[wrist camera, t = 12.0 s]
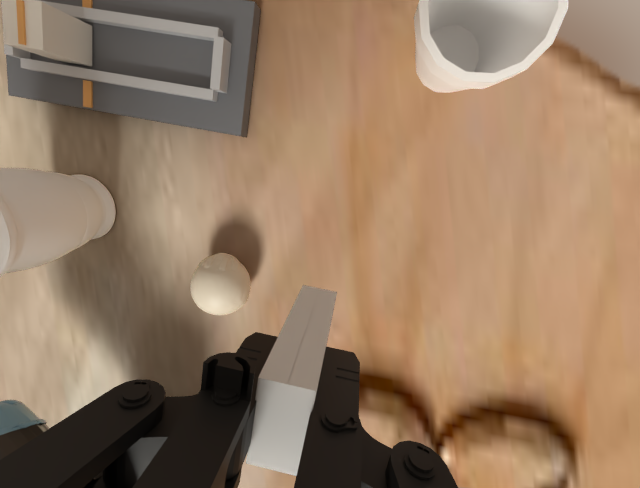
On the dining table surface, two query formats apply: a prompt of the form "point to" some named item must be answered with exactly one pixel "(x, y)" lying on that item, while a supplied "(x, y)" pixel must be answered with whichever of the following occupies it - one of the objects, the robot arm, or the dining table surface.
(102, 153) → the dining table surface
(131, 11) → the slider track
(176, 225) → the dining table surface
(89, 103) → the marker
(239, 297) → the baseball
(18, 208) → the jar
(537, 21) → the foam cup
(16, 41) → the block
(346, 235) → the dining table surface
